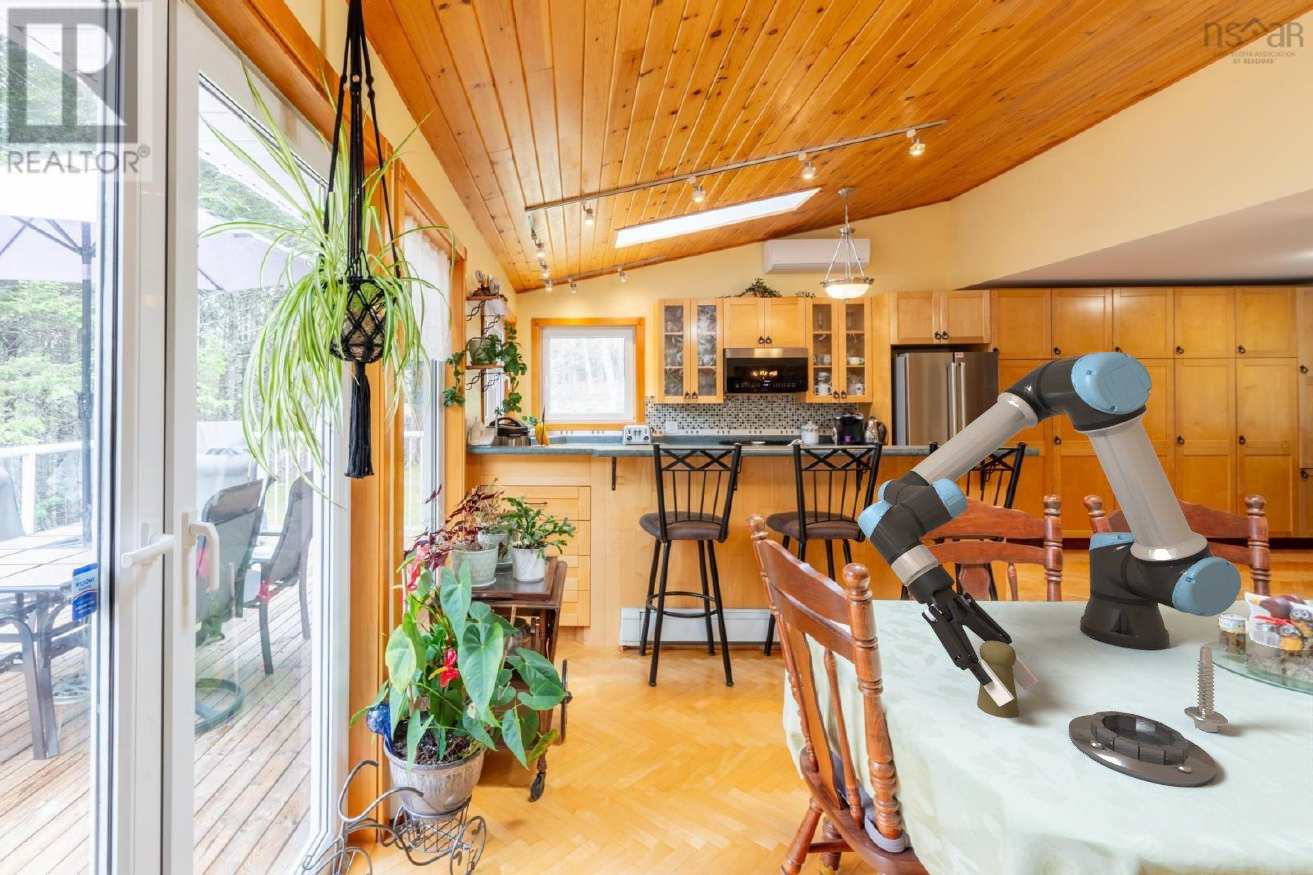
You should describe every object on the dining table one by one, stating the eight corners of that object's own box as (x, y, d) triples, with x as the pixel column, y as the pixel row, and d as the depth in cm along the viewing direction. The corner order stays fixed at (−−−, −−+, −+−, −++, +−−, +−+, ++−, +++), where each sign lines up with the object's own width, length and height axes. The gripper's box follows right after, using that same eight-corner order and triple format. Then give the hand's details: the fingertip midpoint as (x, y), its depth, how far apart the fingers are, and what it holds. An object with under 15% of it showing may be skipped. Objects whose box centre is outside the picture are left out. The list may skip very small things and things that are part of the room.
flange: (1134, 718, 90) (1134, 699, 90) (1250, 781, 74) (1250, 757, 74) (1042, 726, 88) (1042, 706, 88) (1140, 792, 72) (1141, 767, 72)
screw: (1185, 730, 86) (1182, 717, 90) (1230, 741, 83) (1225, 727, 87) (1185, 646, 86) (1183, 637, 90) (1230, 654, 83) (1225, 644, 87)
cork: (1019, 721, 90) (1019, 653, 89) (976, 711, 93) (975, 646, 93) (1018, 705, 95) (1018, 640, 94) (977, 696, 98) (977, 634, 98)
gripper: (938, 577, 112) (1028, 685, 100) (876, 597, 100) (971, 724, 87) (965, 555, 108) (1063, 665, 95) (905, 574, 95) (1008, 704, 83)
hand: (1019, 693), depth 91 cm, fingers open, 9 cm apart
